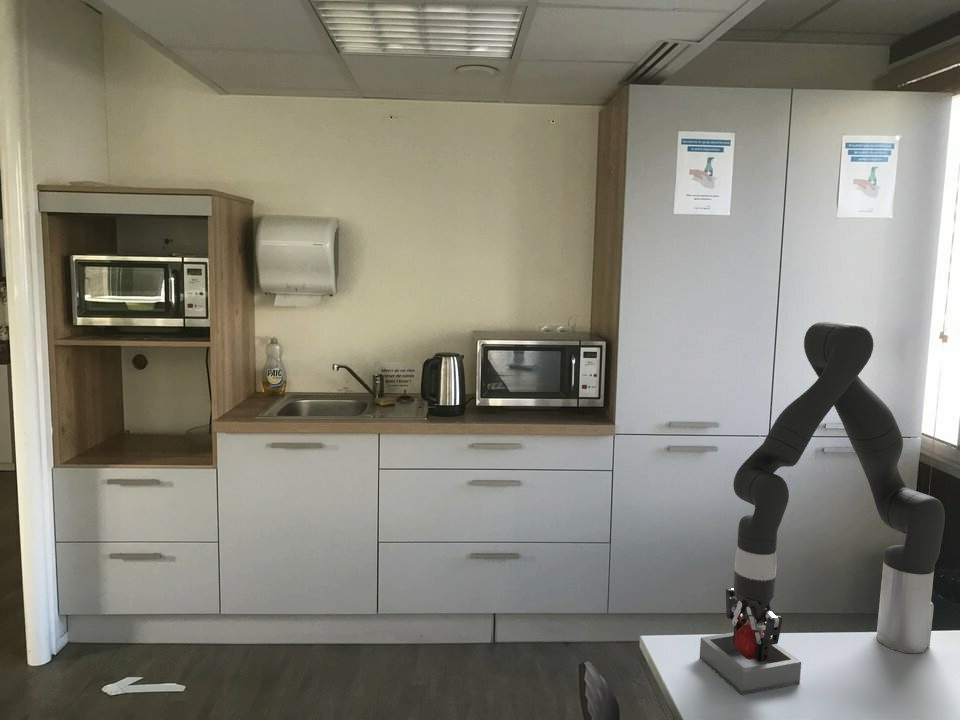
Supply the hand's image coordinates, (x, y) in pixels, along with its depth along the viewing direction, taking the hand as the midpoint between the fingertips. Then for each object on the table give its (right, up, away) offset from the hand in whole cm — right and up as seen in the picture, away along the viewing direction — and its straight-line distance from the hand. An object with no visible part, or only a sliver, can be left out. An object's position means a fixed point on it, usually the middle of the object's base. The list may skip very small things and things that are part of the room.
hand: (749, 651), depth 141 cm
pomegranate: (0, -2, 0) cm, 2 cm away
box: (0, -4, 0) cm, 4 cm away
